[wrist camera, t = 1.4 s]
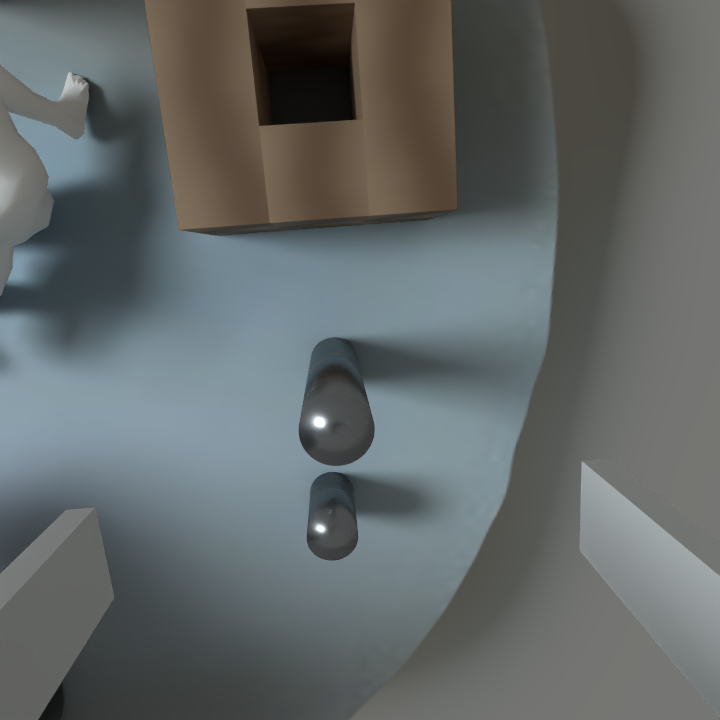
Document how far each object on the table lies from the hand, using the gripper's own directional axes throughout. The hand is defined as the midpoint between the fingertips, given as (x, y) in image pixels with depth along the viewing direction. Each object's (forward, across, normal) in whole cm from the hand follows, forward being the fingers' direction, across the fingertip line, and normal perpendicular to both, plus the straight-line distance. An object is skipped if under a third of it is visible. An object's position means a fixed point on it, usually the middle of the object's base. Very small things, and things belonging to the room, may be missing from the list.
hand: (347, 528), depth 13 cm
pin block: (+22, 0, +16) cm, 27 cm away
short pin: (+22, -1, -10) cm, 24 cm away
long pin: (+22, 0, 0) cm, 22 cm away
